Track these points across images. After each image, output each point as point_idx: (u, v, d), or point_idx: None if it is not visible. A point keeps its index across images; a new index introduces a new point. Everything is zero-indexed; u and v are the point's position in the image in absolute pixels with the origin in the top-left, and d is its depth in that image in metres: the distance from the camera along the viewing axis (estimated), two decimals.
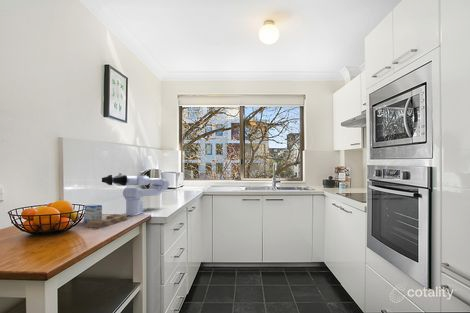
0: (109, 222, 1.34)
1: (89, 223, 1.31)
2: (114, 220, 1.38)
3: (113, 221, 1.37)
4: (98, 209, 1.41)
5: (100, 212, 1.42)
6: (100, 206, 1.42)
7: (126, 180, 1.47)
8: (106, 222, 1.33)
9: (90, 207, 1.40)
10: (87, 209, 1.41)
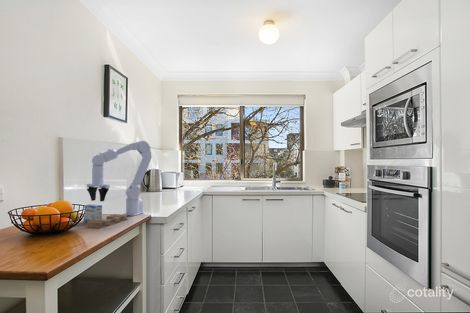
0: (109, 222, 1.34)
1: (89, 223, 1.31)
2: (114, 220, 1.38)
3: (113, 221, 1.37)
4: (98, 209, 1.41)
5: (100, 212, 1.42)
6: (100, 206, 1.42)
7: (105, 189, 1.50)
8: (106, 222, 1.33)
9: (90, 207, 1.40)
10: (87, 209, 1.41)
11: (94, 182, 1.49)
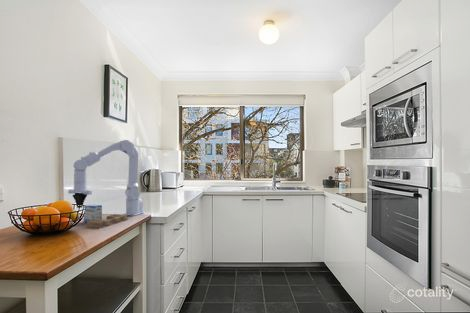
0: (109, 222, 1.34)
1: (89, 223, 1.31)
2: (114, 220, 1.38)
3: (113, 221, 1.37)
4: (98, 209, 1.41)
5: (100, 212, 1.42)
6: (100, 206, 1.42)
7: (83, 194, 1.44)
8: (106, 222, 1.33)
9: (90, 207, 1.40)
10: (87, 209, 1.41)
11: (76, 188, 1.43)
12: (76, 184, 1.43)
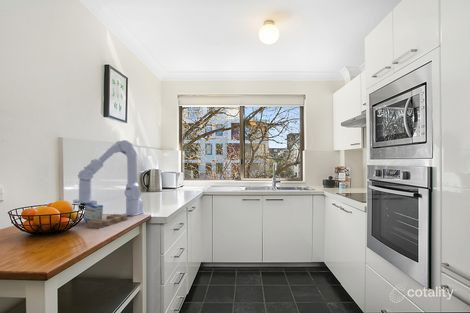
0: (109, 222, 1.34)
1: (89, 223, 1.31)
2: (114, 220, 1.38)
3: (113, 221, 1.37)
4: (99, 209, 1.41)
5: (101, 212, 1.42)
6: (101, 206, 1.42)
7: None
8: (106, 222, 1.33)
9: (91, 207, 1.40)
10: (88, 208, 1.40)
11: (81, 198, 1.41)
12: (81, 194, 1.41)
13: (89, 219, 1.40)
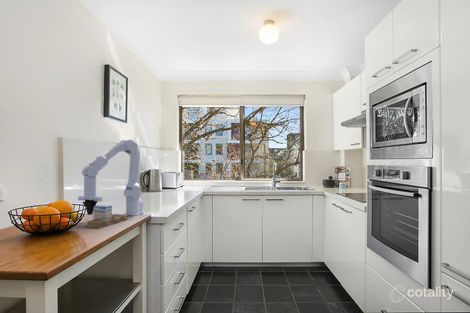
0: (109, 222, 1.34)
1: (89, 223, 1.31)
2: (114, 220, 1.38)
3: (113, 221, 1.37)
4: (108, 210, 1.39)
5: (110, 213, 1.40)
6: (110, 207, 1.40)
7: (93, 201, 1.42)
8: (106, 222, 1.33)
9: (100, 208, 1.38)
10: (97, 210, 1.38)
11: (86, 195, 1.40)
12: (86, 191, 1.40)
13: None
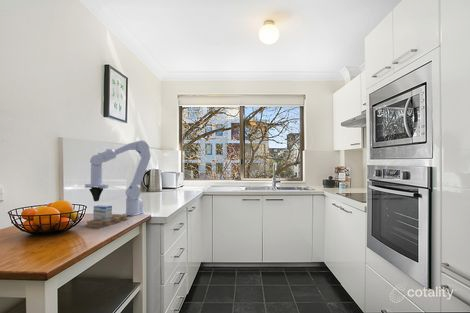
0: (109, 222, 1.34)
1: (89, 223, 1.31)
2: (114, 220, 1.38)
3: (113, 221, 1.37)
4: (108, 210, 1.39)
5: (110, 213, 1.40)
6: (110, 207, 1.40)
7: (100, 188, 1.50)
8: (106, 222, 1.33)
9: (100, 208, 1.38)
10: (97, 210, 1.38)
11: (92, 182, 1.48)
12: (93, 178, 1.48)
13: None
